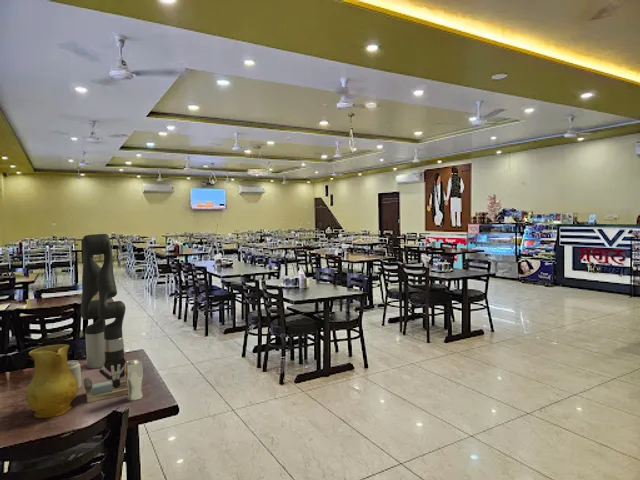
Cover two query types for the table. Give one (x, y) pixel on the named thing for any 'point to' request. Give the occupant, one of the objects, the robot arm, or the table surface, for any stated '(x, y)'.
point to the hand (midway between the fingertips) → (116, 387)
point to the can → (75, 370)
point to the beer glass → (133, 379)
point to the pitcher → (51, 382)
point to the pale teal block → (101, 388)
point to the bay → (106, 395)
